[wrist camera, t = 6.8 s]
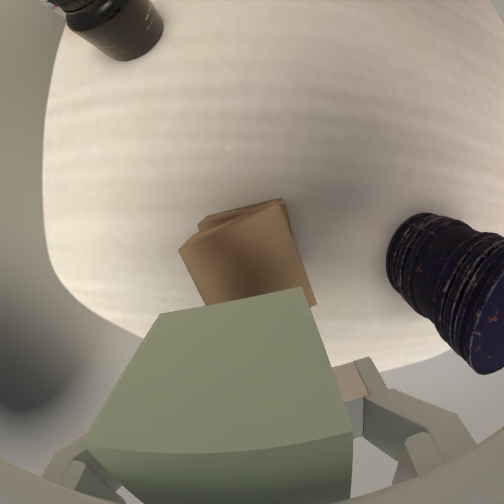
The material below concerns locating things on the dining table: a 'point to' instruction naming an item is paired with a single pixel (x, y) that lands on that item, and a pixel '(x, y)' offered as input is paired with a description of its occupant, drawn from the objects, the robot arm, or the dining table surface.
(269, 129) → the dining table surface
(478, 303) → the dark blue ribbed cylinder
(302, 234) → the dining table surface
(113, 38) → the supplement bottle
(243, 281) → the tower top
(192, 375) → the sage block
